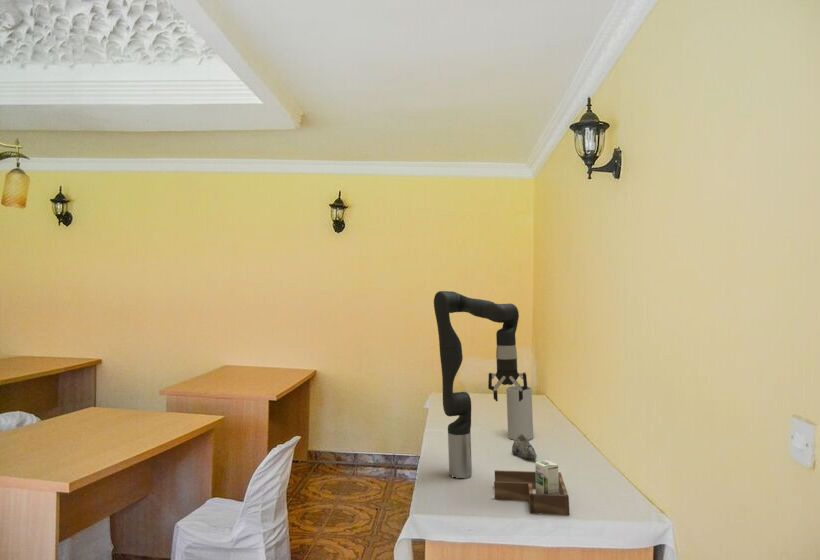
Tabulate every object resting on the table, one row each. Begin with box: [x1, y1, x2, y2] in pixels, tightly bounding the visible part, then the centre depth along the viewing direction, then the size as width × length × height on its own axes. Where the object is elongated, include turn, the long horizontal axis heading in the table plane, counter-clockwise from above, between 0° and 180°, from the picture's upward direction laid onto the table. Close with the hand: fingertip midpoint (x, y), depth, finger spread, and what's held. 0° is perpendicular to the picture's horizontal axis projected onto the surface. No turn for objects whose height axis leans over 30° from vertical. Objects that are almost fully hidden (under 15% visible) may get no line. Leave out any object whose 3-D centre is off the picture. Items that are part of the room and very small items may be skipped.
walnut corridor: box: [493, 469, 570, 516], centre depth 176 cm, size 22×24×6 cm
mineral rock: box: [511, 434, 538, 460], centre depth 222 cm, size 13×11×10 cm
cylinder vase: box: [505, 385, 534, 441], centre depth 253 cm, size 12×12×25 cm
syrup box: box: [534, 459, 560, 495], centre depth 171 cm, size 6×6×14 cm
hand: (508, 401), depth 185 cm, fingers open, 8 cm apart
